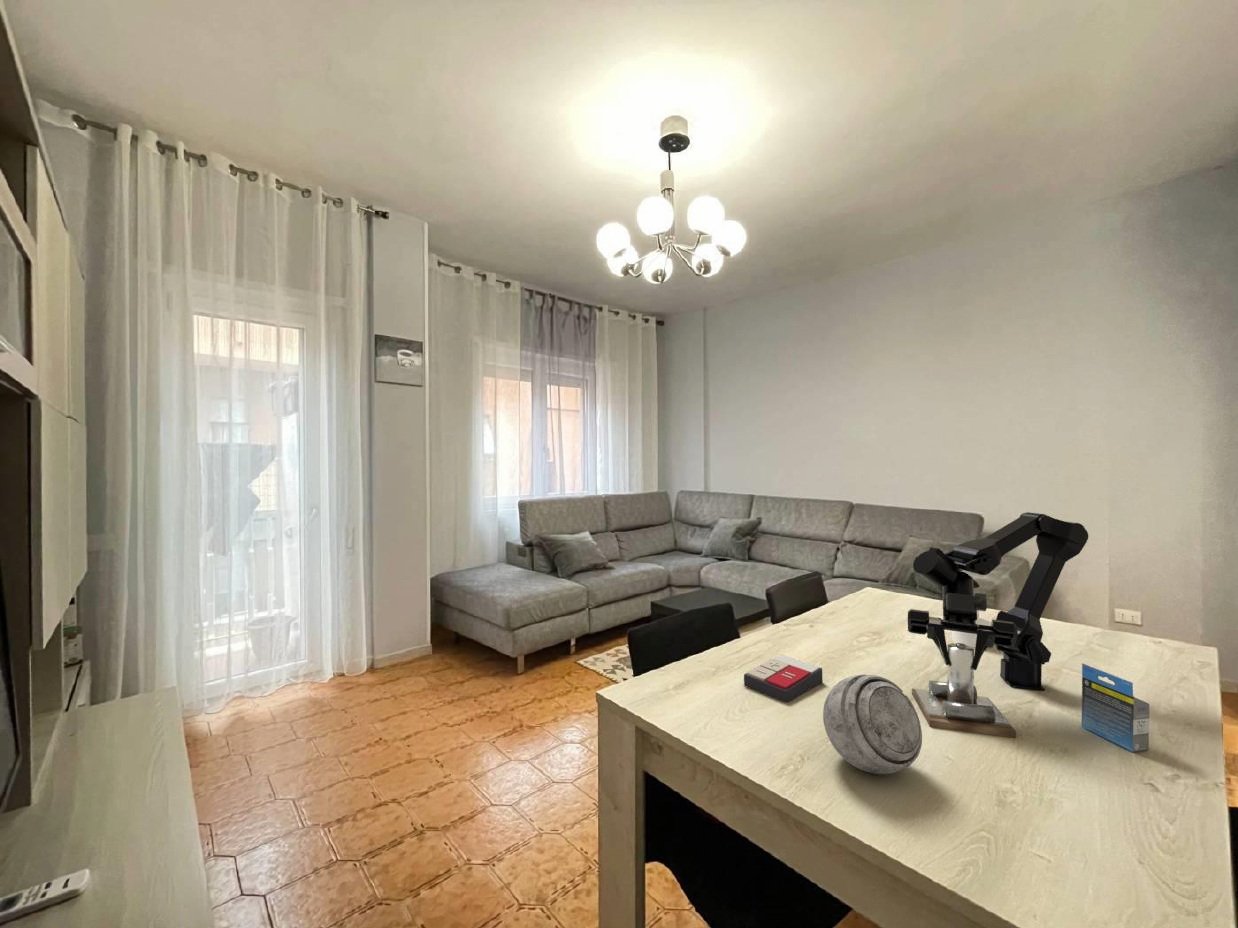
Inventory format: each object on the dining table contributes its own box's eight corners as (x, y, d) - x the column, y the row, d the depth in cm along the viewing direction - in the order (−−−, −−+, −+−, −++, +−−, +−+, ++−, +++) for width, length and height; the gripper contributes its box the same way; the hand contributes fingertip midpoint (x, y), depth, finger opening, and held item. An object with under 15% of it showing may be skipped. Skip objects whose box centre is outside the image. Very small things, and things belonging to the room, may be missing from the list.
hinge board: (987, 702, 110) (987, 697, 110) (1015, 737, 96) (1015, 731, 96) (911, 693, 114) (912, 688, 114) (929, 726, 100) (929, 720, 100)
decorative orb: (874, 804, 78) (875, 704, 78) (804, 753, 91) (804, 668, 91) (940, 779, 84) (942, 686, 84) (866, 734, 97) (866, 654, 97)
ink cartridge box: (1150, 751, 92) (1152, 681, 92) (1132, 753, 91) (1133, 683, 91) (1096, 725, 101) (1098, 661, 100) (1079, 726, 100) (1080, 662, 100)
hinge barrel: (969, 698, 106) (969, 641, 106) (976, 708, 102) (977, 649, 102) (944, 695, 108) (945, 639, 107) (951, 705, 103) (951, 647, 103)
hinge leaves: (986, 698, 109) (987, 684, 109) (1012, 728, 97) (1012, 712, 97) (914, 690, 113) (914, 676, 113) (930, 718, 101) (930, 702, 101)
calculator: (742, 671, 118) (780, 651, 128) (743, 689, 118) (780, 668, 128) (786, 687, 110) (823, 664, 119) (786, 707, 110) (823, 683, 120)
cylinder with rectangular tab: (953, 634, 151) (953, 592, 150) (991, 641, 145) (992, 597, 145) (950, 643, 143) (951, 600, 143) (991, 651, 138) (992, 605, 138)
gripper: (908, 571, 112) (906, 638, 103) (1016, 582, 103) (1025, 657, 94) (908, 599, 119) (907, 664, 110) (1010, 611, 110) (1018, 683, 101)
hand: (960, 666), depth 104 cm, fingers closed on hinge barrel, 4 cm apart
